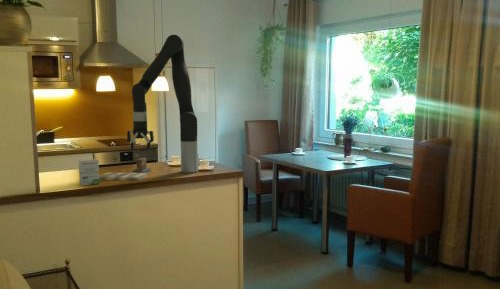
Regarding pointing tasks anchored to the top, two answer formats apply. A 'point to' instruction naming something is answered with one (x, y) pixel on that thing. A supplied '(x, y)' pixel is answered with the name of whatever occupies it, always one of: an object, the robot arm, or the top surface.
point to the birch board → (122, 176)
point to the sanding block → (141, 166)
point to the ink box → (89, 172)
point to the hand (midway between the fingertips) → (140, 149)
